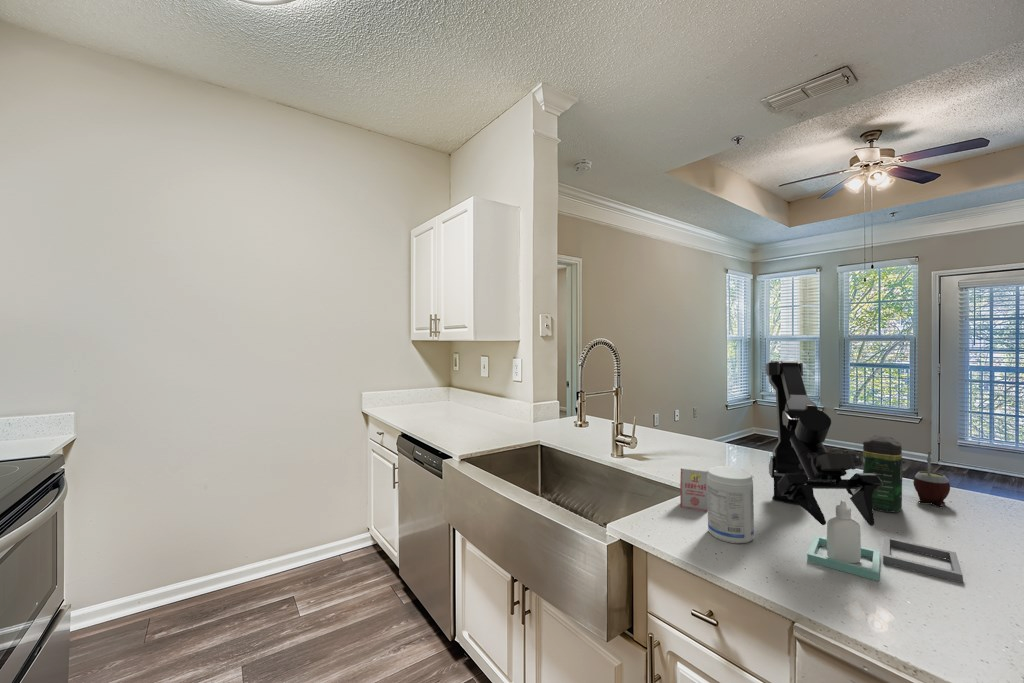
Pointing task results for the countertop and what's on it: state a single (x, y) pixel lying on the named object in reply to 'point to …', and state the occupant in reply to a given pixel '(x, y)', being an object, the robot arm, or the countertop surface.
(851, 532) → the eye dropper bottle
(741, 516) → the supplement tub
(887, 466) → the coffee jar
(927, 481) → the mate gourd
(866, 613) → the countertop surface
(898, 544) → the upper socket
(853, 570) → the lower socket
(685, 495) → the white red printed box
